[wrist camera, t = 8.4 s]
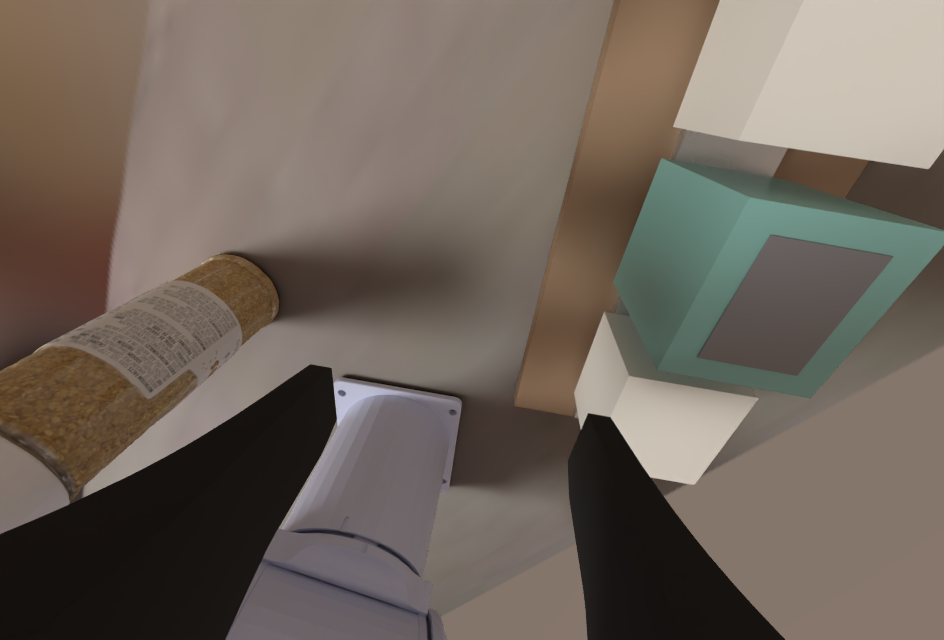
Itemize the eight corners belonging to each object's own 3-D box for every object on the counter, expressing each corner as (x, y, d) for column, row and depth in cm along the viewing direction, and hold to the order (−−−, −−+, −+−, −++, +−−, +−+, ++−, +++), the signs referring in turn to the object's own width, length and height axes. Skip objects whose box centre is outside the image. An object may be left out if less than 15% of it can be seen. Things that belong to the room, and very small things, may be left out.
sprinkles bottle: (247, 335, 22) (-43, 589, 11) (185, 273, 20) (-244, 501, 9) (300, 305, 21) (26, 567, 9) (238, 235, 19) (-200, 453, 7)
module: (716, 300, 16) (811, 399, 11) (613, 281, 16) (657, 370, 11) (786, 179, 13) (956, 234, 8) (661, 158, 13) (750, 198, 8)
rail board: (681, 420, 22) (689, 436, 21) (514, 391, 22) (514, 406, 21) (1020, -131, 10) (1076, -156, 9) (659, -177, 10) (674, -207, 9)
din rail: (635, 420, 21) (637, 428, 20) (572, 409, 21) (574, 417, 20) (928, -143, 10) (950, -157, 9) (791, -161, 10) (806, -175, 9)
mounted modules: (659, 407, 19) (694, 485, 15) (573, 392, 19) (587, 465, 16) (916, -55, 10) (1165, -149, 6) (748, -78, 10) (888, -183, 6)
